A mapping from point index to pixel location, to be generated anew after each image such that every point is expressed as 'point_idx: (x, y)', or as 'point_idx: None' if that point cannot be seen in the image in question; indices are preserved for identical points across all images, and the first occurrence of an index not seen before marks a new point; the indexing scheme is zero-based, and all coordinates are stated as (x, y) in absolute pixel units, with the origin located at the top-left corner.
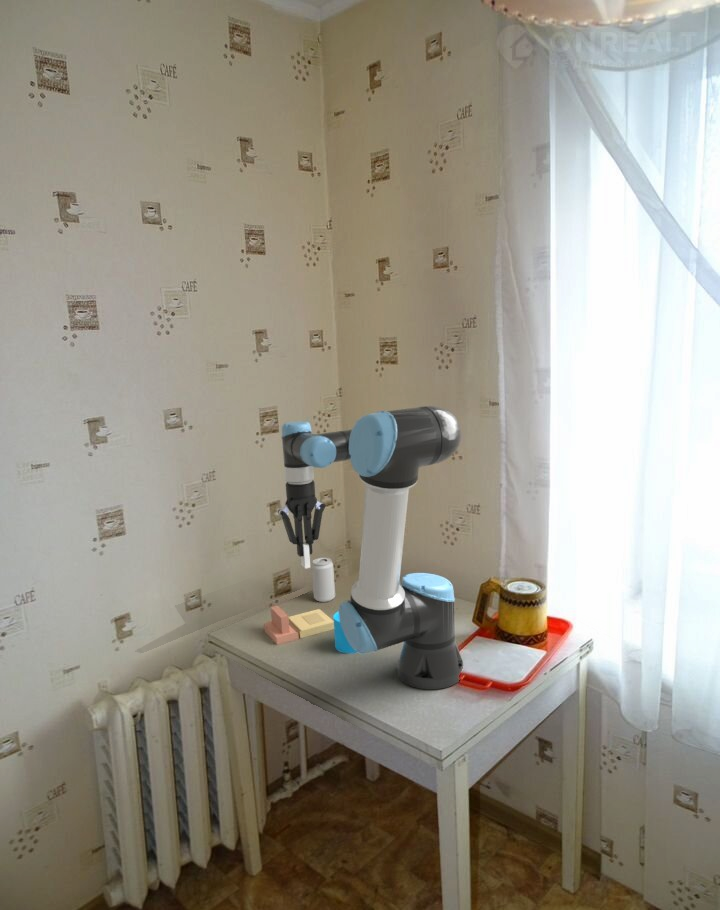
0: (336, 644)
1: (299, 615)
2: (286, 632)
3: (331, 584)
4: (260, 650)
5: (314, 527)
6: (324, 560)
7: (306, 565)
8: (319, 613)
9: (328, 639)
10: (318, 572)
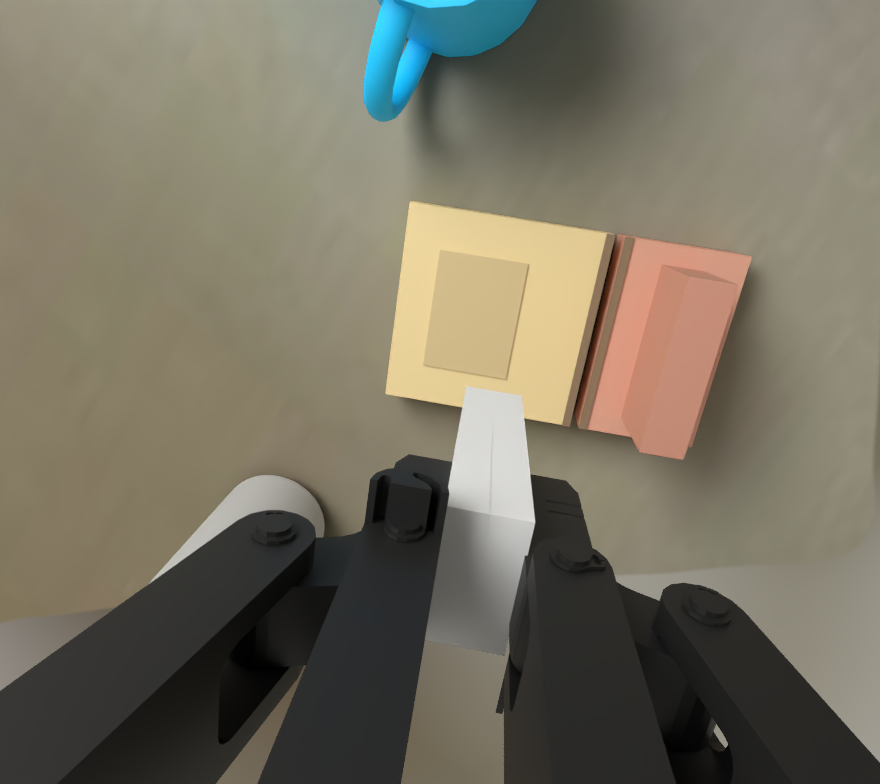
0: None
1: None
2: (681, 266)
3: (225, 512)
4: (832, 258)
5: (181, 730)
6: None
7: (506, 403)
8: (415, 347)
9: (509, 117)
10: None
